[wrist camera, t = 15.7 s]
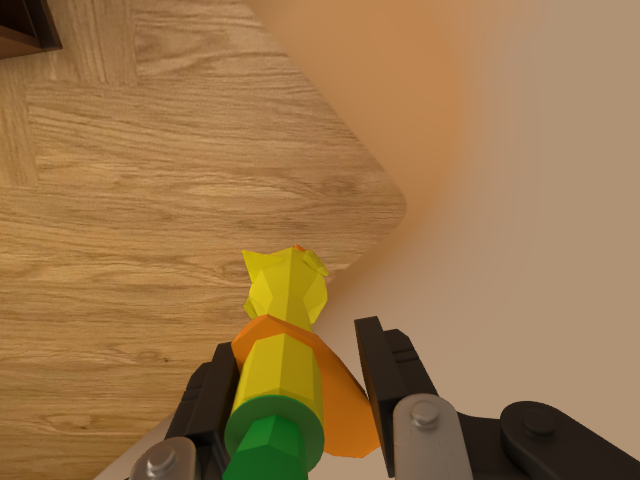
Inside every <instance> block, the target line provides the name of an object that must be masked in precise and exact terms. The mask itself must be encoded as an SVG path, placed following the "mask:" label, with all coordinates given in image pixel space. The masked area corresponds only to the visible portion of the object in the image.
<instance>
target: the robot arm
mask: <svg viewBox="0 0 640 480" xmlns="http://www.w3.org/2000/svg"><path fill="white" fill-rule="evenodd" d="M354 323H355V330H356V337H357V343H358V349H359V355H360V362H361V367H362V372H363V377H364V382H365V385H366V389H367V393H368V397H369V401H370V405H371V409H372V413H373V417H374V421H375V425H376V429H377V433H378V437H379V441H380V444H381V448H382V452H383V456H384V460H385V464H386V468H387V472H388V476H389V478H393V477H395V480H640V462H639V461H638V460H636V459H635V458H633V457H631V456H630V455H628V454H627V453H625V452H624V451H622V450H620V449H619V448H618V447H616V446H614V445H613V444H611V443H609V442H608V441H607V440H605V439H603V438H602V437H600V436H599V435H597V434H596V433H594V432H593V431H591V430H589V429H588V428H586V427H585V426H583V425H582V424H580V423H579V422H577V421H575V420H574V419H572V418H571V417H569V416H568V415H566V414H564V413H563V412H561V411H559V410H558V409H556V408H554V407H552V406H549V405H546V404H543V403H539V402H533V401H520V402H515V403H512V404H510V405H508V406H507V407H506V408H505V409H504V410H503V411H502V413H501V416H500V419H491V418H481V417H472V416H468V415H465V414H462V413H459V412H457V411H456V410H455V409H454V407H453V406H452V405H451V404H450V403H449V402H448V401H446V400H444V399H443V398H441V397H439V395H438V393H437V391H436V389H435V387H434V385H433V383H432V381H431V379H430V378H429V376H428V374H427V372H426V370H425V368H424V366H423V364H422V362H421V360H420V359H419V356H418V354H417V352H416V351H415V349H414V347H413V345H412V343H411V341H410V339H409V337H408V336H406V335H405V334H404V333H402V332H401V331H399V330H398V329H393V330H387V331H383V329H382V327H381V324H380V322H379V319H378V317H377V316H373V317H368V318H363V319H357V320H354ZM231 343H232V342H227V343H221V344H218V346H217V348H216V351H215V354H214V356H213V359H212V362H207V363H203V364H202V365H201V366H200V367H199V368H198V369H197V370H196V371H195V372H194V373H193V375H192V376H191V378H190V380H189V383H188V385H187V387H186V391H185V392H184V394H183V397H182V399H181V402H180V404H179V406H178V408H177V411H176V413H175V415H174V418H173V420H172V422H171V425H170V427H169V429H168V432H167V434H166V436H165V438H164V440H163V441H161V442H159V443H157V444H156V445H154V446H152V447H151V448H150V449H148V450H147V451H146V452H145V453H144V454H143V455H142V456H141V457H140V458H139V459H138V460H137V462H136V463H135V465H134V467H133V468H132V470H131V474H130V476H129V478H127V479H125V480H223V478H222V476H223V474H224V472H225V470H226V469H227V467H228V465H229V463H230V461H231V458H230V456H229V454H228V452H227V450H226V446H225V441H224V437H225V429H226V425H227V422H228V420H229V418H230V415H231V411H232V407H233V403H234V399H235V395H236V391H237V387H238V383H239V379H240V373H239V369H238V366H237V362H236V358H235V357H234V354H233V350H232V347H231Z"/></svg>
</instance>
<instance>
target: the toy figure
mask: <svg viewBox="0 0 640 480" xmlns="http://www.w3.org/2000/svg"><path fill="white" fill-rule="evenodd" d="M241 251H242V254H243V257H244V260H245V263H246V266H247V269H248V272H249V275H250V278H251V281H252V286H251V289H250V292H249V296H248V298H247V300H246V302H245V304H244V306H243V308H244V310H245V311H246V312H247V313H248V315H249V316H250V317H251V319H252V321H251V322H249V323H248V324H247V325H246V326H245V327H244V328H243V329H242V331H241V332H240V333H239V334H238V335H237V337H236V338H235V339H234V340H233V341H232V343H231V347H232V350H233V354H234V357H235V358H236V362H237V366H238V369H239V373H240V379H239V383H238V387H237V391H236V395H235V399H234V403H233V407H232V411H231V415H230V418H229V420H228V422H227V425H226V429H225V437H224V441H225V446H226V450H227V452H228V454H229V456H230V458H231V461H230V463H229V465H228V467H227V469H226V470H225V472H224V474H223V476H222V478H223V480H308V472H309V471H311V470H312V469H313V468H314V467H315V466H316V464H317V463H318V462H319V460H320V459H321V456H322V453H323V451H324V452H326V453H329V454H331V455H333V456H342V457H354V458H363V457H365V456H366V455H367V454H369V453H371V452H372V451H373V450H375V449H376V448H378V447H379V446H381V444H380V441H379V437H378V433H377V429H376V425H375V421H374V417H373V413H372V409H371V405H370V401H369V399H368V397H367V395H366V393H365V391H364V389H363V388H362V387H361V385H360V384H359V383H358V381H357V380H356V379H355V378H354V376H353V375H352V374H351V372H350V371H349V370H348V369H347V367H346V366H345V365H344V363H343V362H342V361H341V360H340V358H339V357H338V356H337V355H336V354H335V353H334V352H333V351H332V350H331V349H330V348H329V347H328V346H327V345H326V344H325V343H324V342H323V341H322V340H321V339H320V338H319V337H318V336H317V335H316V334H314V333H313V330H312V326H311V324H313V323H314V322H315V321H316V319H317V317H318V315H319V314H320V312H321V310H322V309H323V307H324V305H325V303H326V301H327V300H328V298H327V291H326V283H325V280H324V277H323V275H324V276H328V275H329V272H328V270H327V268H326V267H325V265H324V264H323V262H322V261H321V260H320V258H319V257H318V256H317V255H316V254H315V253H314V252H313V251H312V250H307V249H306V250H305V249H303V248H302V247H300V246H299V245H296V246H294V247H291V248H287V249H284V250H281V251H278V252H275V253H272V254H269V255H265V254H260V253H255V252H250V251H244V250H241Z"/></svg>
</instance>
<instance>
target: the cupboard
mask: <svg viewBox="0 0 640 480" xmlns="http://www.w3.org/2000/svg"><path fill="white" fill-rule="evenodd" d="M57 49H62V46H61V43H60V40H59V37H58V34H57V31H56V28H55V25H54V22H53V19H52V16H51V14H50V11H49V8H48V5H47V2H46V0H0V59H4V58H10V57H16V56H22V55H27V54H33V53H39V52H45V51H51V50H57Z"/></svg>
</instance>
